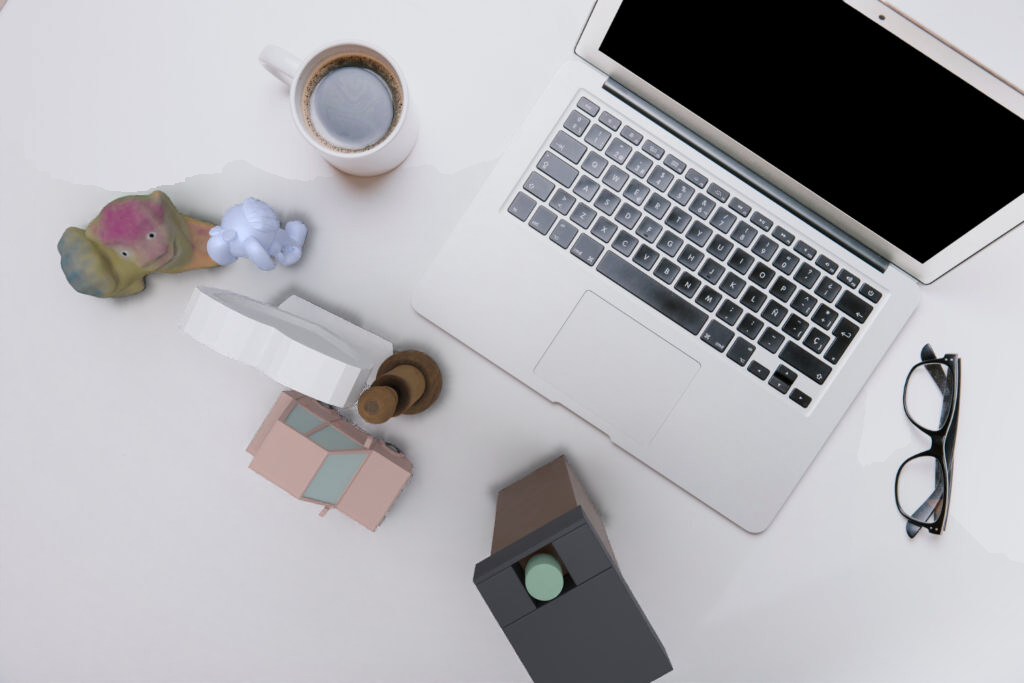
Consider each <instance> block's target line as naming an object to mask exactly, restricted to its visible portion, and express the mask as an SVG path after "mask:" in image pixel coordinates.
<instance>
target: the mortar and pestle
mask: <svg viewBox="0 0 1024 683" xmlns="http://www.w3.org/2000/svg"><path fill="white" fill-rule="evenodd" d="M442 388H443V376H442V371H441V369H440V367H439V366H438V364H437V363H436V361H435V360H434V359H433V358H432V357H431V356H429V355H428V354H426V353H424V352H422V351H420V350H416V349H415V350H414V349H406V350H400V351H397V352H395V353H393V355H392V356H390V357H388V358H387V359H386V360H385V361H384V362H383V363H382V364H381V366H380V367H379V369H378V371H377V375H376V380H375V381H374V382H373V383H372V384H371V386H370V385H369V388H366V389H364V391H362V392H361V394H360V396H359V398H358V400H357V402H356V404H357V405H356V406H357V407H356V408H357V411H358V414H359V416H360V417H361V419H362V420H364V421H365V422H366V423H368V424H371V425H381V424H384V423H387V422H388V421H390V419H392V418H397V417H400V416H402V415H405V416H412V415H417V414H421V413H423V412H424V411H426V410H428V409H429V408H430V407H432V405H433V404H434V403H435V402H436V401H437V400H438V398H439V396H440V394H441V391H442Z"/></svg>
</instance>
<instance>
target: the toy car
mask: <svg viewBox="0 0 1024 683" xmlns="http://www.w3.org/2000/svg"><path fill="white" fill-rule="evenodd" d="M339 413H340V412H339V411H338V410H336V409H334V407H333V405H330V404H327V403H325V402H322V401H320V400H317V399H314V398H312V397H309V396H307V395H305V394H302V393H300V392H298V391H295V390H293V389H290V390H283V391H282V392H280V395H279V396H278V398H277V400H276V401H275V403H274V404H273V405H272V408H271V409H270V411H269V412H268V414H267V415H266V417H265V418H264V420H263V422H262V423H261V424H260V426H259V428H258V430H257V431H256V433H255V434H254V436H253V437H252V439H251V441H250V442H249V444H248V446H246V449H245V452H246V453H248V454H250V455H251V456H253V458H252V460H250V463H249V465H248V466H247V468H248V469H249V470H251V471H253V473H256V474H258V475H259V476H260V477H262V478H264V479H265V480H267V481H268V482H270V483H271V484H273V485H274V486H276V487H278V488H279V489H281V490H282V491H284V492H286V494H288V495H290V496H292V497H293V498H295V499H297V500H298V501H302V502H306V503H311V504H314V505H319V506H322V507H323V508H322V510H321V511H320V512H319V513H318V516H319V517H321V518H323V517H325V516H326V514H327V513H328V512H329V511H330V509H335V510H336V511H338V512H339V513H342V514H343V515H345V516H346V517H348V518H350V520H353V521H354V522H356V523H357V524H359V525H360V526H362V527H364V528H365V529H367V531H370V532H371V533H375V532H376V531H377V529H378V527H379V528H380V527H381V526H382V525H383V523H384V522H385V520H386V517H387V514H388V513H389V512H390V511H391V509H392V508H393V506H394V505H395V503H396V501H397V500H398V499H399V497H400V495H401V494H402V493H403V490H404V488H405V486H408V484H409V483H410V481H411V480H412V478H413V476H414V474H413V469H414V464H413V463H412V461H410V460H409V459H407V458H406V457H407V454H404V453H403V452H402V451H401V450H400V449H399V448H398V447H397V446H395V445H394V444H392V443H390V442H385V441H384V440H382V439H381V438H380V439H379V440H378V439H376V438H374V437H373V436H372V435H370V434H368V433H366V431H363V430H362V429H360V428H358V427H357V426H355V425H354V424H353V423H351V422H350V421H348V420H346V419H344V418H343V417H342V416H340V415H339Z"/></svg>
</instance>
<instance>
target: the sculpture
mask: <svg viewBox="0 0 1024 683" xmlns="http://www.w3.org/2000/svg"><path fill="white" fill-rule="evenodd" d="M215 226H217V225H216V224H214V223H212V222H208V221H205V220H201V219H197V218H193V217H191V216H188V215H186V214H184V213H181V212H179V210H178V209H177V207H176V206H175V204H174V203H173V201H172V200H171V198H170V197H169V196H168V194H167V193H165V192H164V191H162V190H157V189H156V190H154V191H152V192H151V193H149V194H132V195H131V194H129V195H123V196H121V197H117V198H116V199H113V200H112V201H110V202H109V203H107V204H106V205H105V206H104V207H102V209H101V210H100V211H99V213H98V215H97V216H96V217H94V218H93V219H92V220H91V221H90V222H89V223H88V225H87V226H86V228H84V229H83V228H80V227H78V226H69V227H67V228H65V230H64V231H63V233H62V235H61V237H60V238H59V240H58V242H57V246H56V250H57V251H58V253H59V255H60V268H61V271H62V272H63V274H64V276H65V278H66V281H67V282H68V284H69V285H70V286H71V288H72V289H73V290H74V291H75V292H77V293H79V294H83V295H87V296H90V297H94V298H98V299H109V298H111V299H120V298H124V297H127V296H131V295H136V294H138V293H141V292H142V291H143V290H144V289H145V288H146V284H145V281H144V277H145V276H147V275H149V274H155V273H160V274H161V273H162V274H171V275H173V274H179V273H183V272H186V271H191V270H192V271H193V270H202V269H203V270H205V269H212V268H215V267H218V266H220V264H218V263H216V262H215V261H214V260H213V259H212V258H211V257H210V256H209V254H208V251H207V242H208V240H209V239H210V238H211V237H212V236H210V235H209V231H210V230H211V229H212V228H213V227H215Z"/></svg>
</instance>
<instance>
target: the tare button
mask: <svg viewBox="0 0 1024 683" xmlns="http://www.w3.org/2000/svg"><path fill="white" fill-rule="evenodd" d="M525 584H526V588H527V590H528V592H529V594H530V595H531V596H533V597H534V598H536V599H538V600H543V601H546V600H551V599H553V598H555V597H556V596H557V595H558V594H559V593H560V592H561V590H562V588H563V574H562V568H561V565H560V563H559V561H558V560H557V559H556V558H555V557H554V556H552V555H550V554H546V553H541V554H537V555H535V556H533V557H532V558H531V559H530V560H529V561H528V563H527V565H526V568H525Z"/></svg>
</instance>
